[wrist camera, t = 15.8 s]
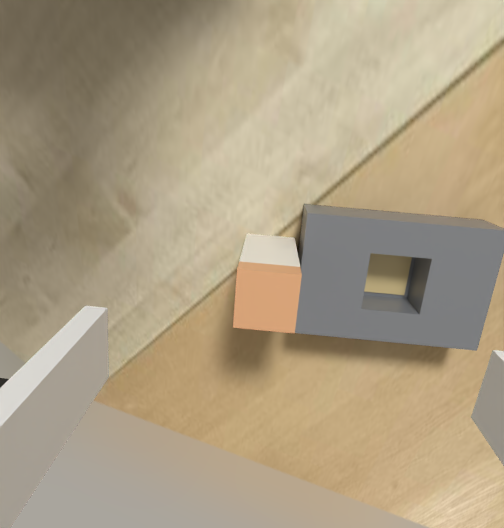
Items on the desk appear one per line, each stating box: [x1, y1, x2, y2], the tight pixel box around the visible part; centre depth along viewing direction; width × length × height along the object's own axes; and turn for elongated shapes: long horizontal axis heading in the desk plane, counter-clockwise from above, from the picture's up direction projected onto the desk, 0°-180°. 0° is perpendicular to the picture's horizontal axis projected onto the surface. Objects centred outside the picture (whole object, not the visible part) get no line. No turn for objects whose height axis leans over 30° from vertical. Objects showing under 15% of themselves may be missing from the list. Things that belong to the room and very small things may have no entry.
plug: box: [233, 233, 302, 333], centre depth 39 cm, size 5×5×12 cm
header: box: [295, 204, 504, 350], centre depth 42 cm, size 18×12×5 cm, turn 85°
